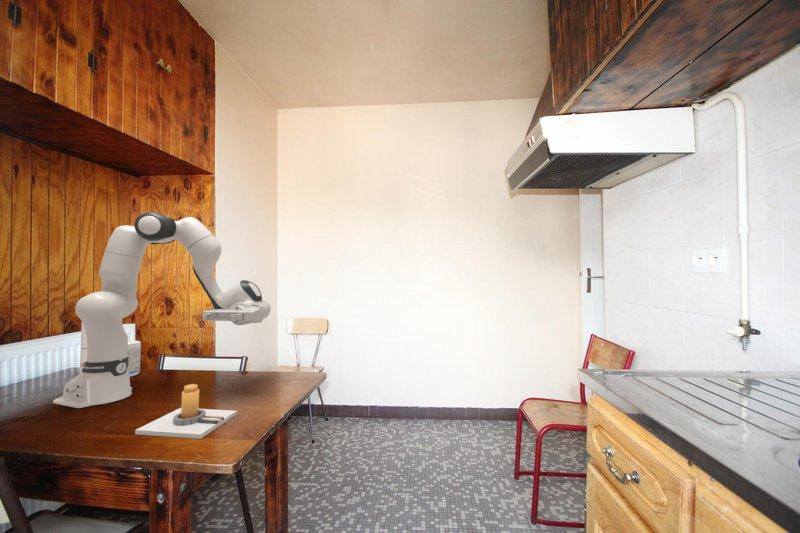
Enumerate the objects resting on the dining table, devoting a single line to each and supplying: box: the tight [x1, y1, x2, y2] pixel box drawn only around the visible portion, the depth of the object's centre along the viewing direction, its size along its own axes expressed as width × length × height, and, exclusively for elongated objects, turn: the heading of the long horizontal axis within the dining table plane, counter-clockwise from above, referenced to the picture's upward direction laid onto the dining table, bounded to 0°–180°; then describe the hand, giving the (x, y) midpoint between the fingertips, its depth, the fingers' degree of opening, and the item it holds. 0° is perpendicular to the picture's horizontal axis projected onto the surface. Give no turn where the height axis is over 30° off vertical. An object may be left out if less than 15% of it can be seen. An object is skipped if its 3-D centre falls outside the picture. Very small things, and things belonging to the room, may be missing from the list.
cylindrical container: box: [79, 321, 87, 374], centre depth 147 cm, size 7×7×25 cm
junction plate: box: [134, 407, 238, 440], centre depth 98 cm, size 20×16×3 cm
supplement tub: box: [127, 340, 142, 378], centre depth 147 cm, size 10×10×15 cm
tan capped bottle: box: [180, 383, 200, 419], centre depth 98 cm, size 4×4×10 cm
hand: (217, 317), depth 113 cm, fingers open, 8 cm apart
